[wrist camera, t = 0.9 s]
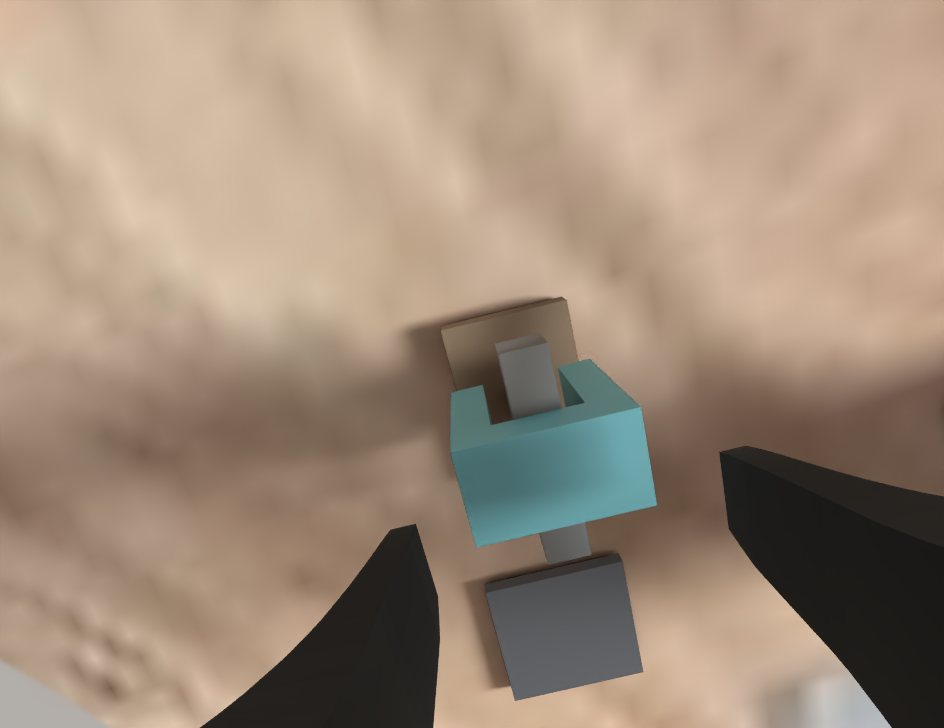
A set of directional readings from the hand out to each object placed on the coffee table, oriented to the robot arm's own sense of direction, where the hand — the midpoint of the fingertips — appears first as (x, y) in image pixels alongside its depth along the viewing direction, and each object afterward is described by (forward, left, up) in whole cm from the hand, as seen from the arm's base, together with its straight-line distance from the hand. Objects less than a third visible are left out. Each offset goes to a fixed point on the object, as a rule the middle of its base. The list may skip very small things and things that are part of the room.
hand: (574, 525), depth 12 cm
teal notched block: (0, 0, -8) cm, 8 cm away
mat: (+4, +12, -10) cm, 16 cm away
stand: (0, 0, -10) cm, 10 cm away
